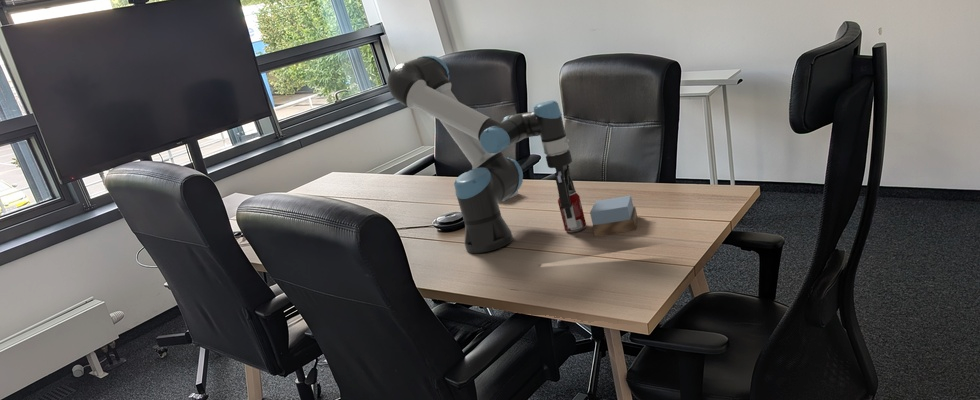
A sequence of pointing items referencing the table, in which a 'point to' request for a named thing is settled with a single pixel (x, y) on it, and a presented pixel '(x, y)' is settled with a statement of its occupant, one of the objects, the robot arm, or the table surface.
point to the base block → (616, 226)
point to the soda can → (577, 212)
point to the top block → (612, 210)
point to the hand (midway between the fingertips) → (574, 222)
